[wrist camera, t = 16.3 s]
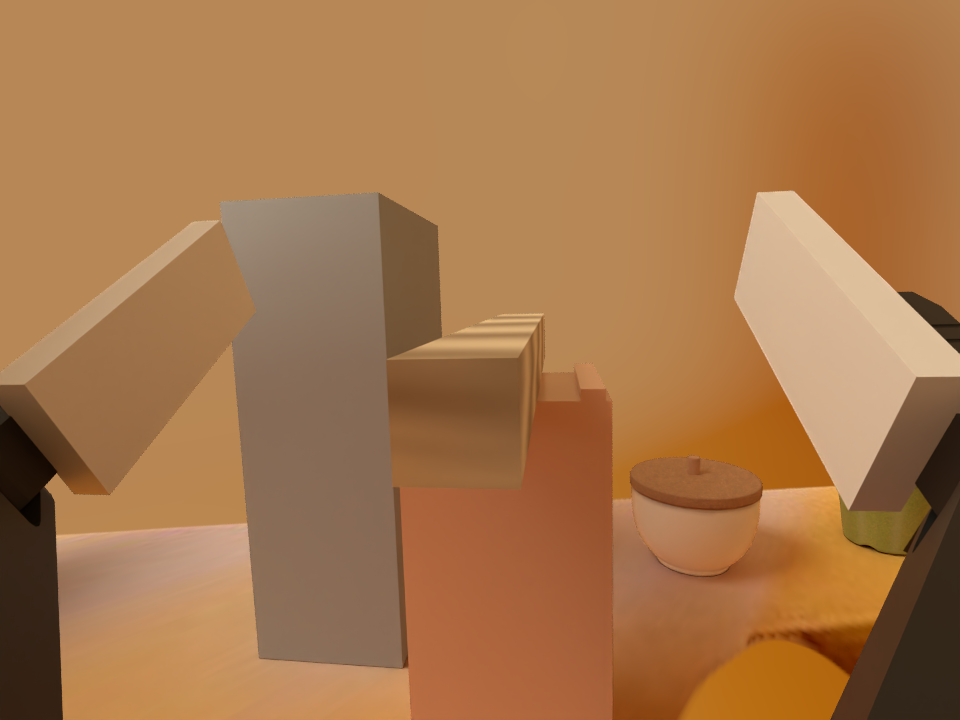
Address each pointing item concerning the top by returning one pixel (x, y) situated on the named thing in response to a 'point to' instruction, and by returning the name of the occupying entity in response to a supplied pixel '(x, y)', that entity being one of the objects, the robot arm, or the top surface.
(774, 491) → the top surface
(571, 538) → the tall salmon pillar
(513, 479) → the birch batten
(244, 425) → the slate riser
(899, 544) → the plant pot
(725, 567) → the lidded jar
